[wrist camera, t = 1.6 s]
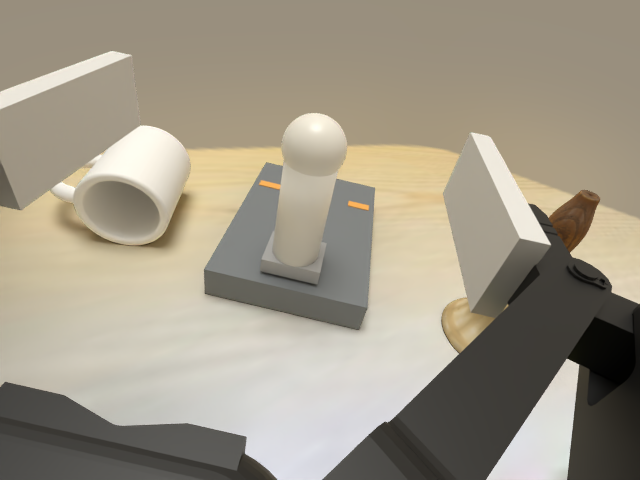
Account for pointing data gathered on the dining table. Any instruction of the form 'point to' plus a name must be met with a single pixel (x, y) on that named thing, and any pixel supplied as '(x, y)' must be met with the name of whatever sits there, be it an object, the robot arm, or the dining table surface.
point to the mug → (131, 187)
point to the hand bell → (467, 326)
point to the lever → (305, 197)
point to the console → (290, 294)
